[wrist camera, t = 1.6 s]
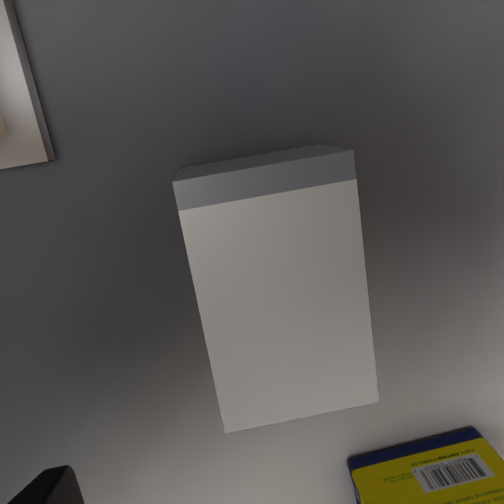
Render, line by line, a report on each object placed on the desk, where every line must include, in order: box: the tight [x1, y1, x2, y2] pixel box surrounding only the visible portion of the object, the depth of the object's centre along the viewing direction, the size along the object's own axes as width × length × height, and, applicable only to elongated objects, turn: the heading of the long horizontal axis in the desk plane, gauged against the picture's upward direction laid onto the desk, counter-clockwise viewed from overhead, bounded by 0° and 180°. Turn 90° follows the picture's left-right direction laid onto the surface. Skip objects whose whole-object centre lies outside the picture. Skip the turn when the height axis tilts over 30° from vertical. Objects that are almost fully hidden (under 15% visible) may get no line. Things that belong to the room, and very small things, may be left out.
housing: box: [172, 144, 379, 434], centre depth 16 cm, size 8×5×4 cm, turn 9°
